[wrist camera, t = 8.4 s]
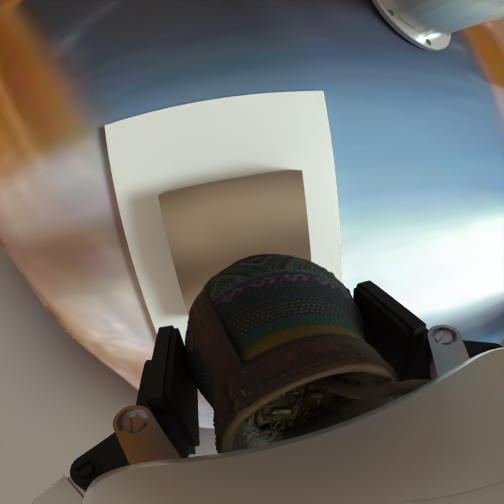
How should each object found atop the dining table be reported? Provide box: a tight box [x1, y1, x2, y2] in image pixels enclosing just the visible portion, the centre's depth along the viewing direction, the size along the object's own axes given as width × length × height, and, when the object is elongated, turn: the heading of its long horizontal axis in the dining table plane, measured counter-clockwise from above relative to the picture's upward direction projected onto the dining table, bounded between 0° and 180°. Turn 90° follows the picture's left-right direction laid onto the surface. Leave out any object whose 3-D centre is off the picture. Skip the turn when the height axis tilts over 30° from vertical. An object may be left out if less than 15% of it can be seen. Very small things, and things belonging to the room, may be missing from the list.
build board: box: [105, 91, 342, 345], centre depth 23 cm, size 24×18×1 cm
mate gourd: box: [185, 254, 436, 453], centre depth 9 cm, size 7×8×10 cm
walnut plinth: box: [158, 169, 311, 317], centre depth 21 cm, size 11×10×3 cm
